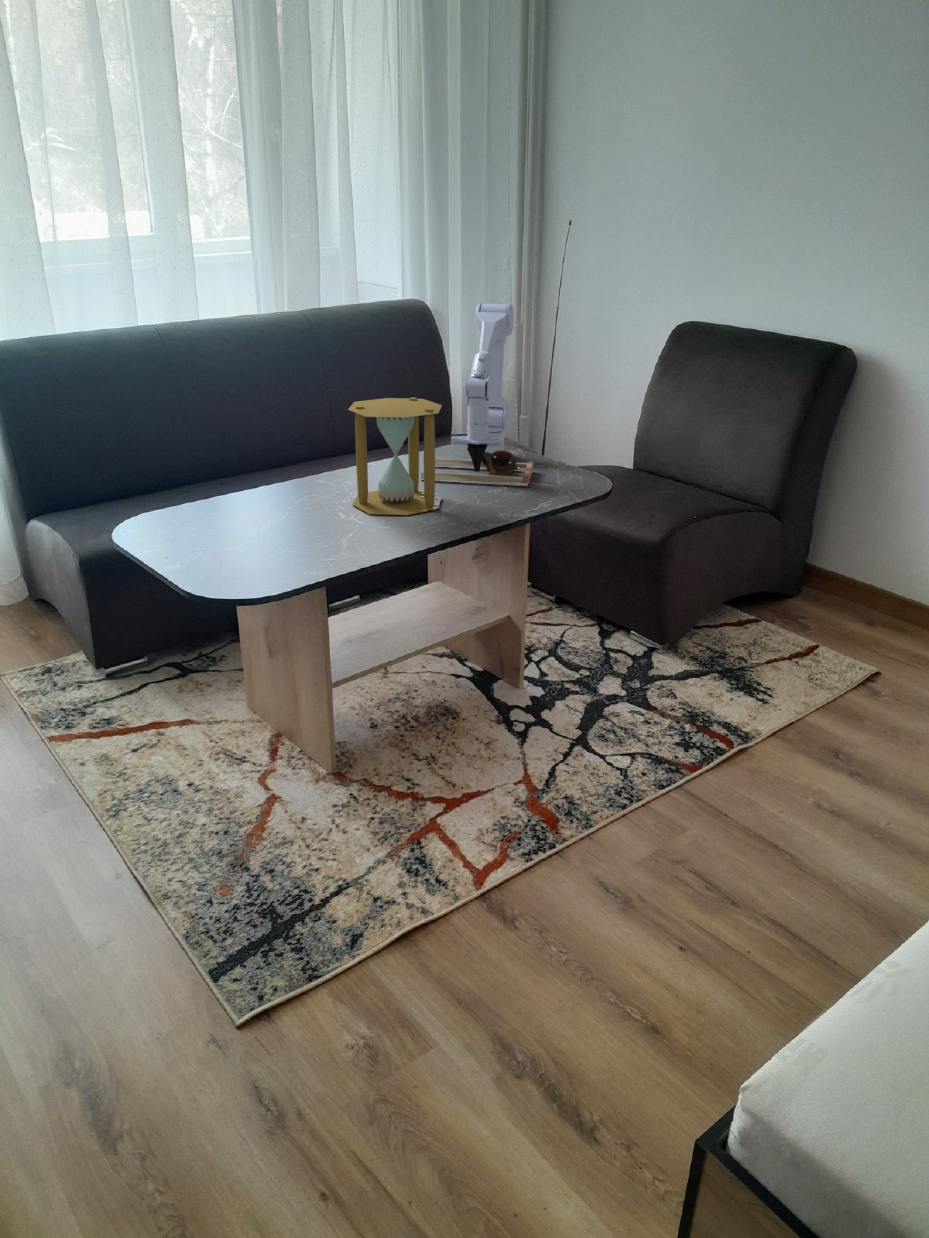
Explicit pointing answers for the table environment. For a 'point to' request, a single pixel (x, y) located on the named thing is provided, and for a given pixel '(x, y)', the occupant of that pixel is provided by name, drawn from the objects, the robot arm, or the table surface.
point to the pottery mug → (499, 462)
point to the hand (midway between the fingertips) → (477, 470)
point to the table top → (477, 476)
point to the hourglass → (396, 483)
